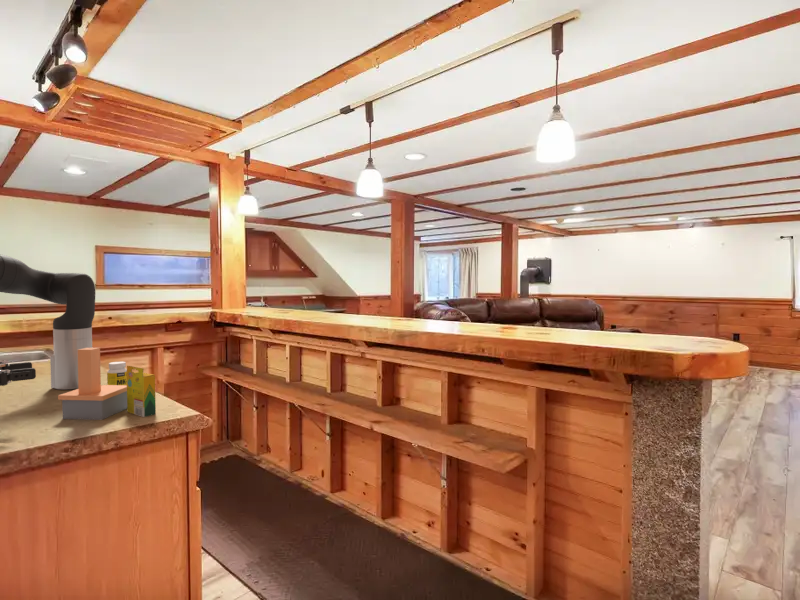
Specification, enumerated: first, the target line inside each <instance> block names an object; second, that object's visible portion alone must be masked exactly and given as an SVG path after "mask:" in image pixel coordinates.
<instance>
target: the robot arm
mask: <svg viewBox="0 0 800 600" xmlns="http://www.w3.org/2000/svg"><path fill="white" fill-rule="evenodd" d="M0 293H5V294H11V295H13V294H14V295H24V296H25V295H26V296H29V297H34V298H37V299H41V300H45V301H47V302H50V303H54V304H58V305H65V311H64V313H63V314H61V315H60V316H58V317H55V318H54V319H53V321H52V328H53V329H52V335H53V354H51V355H50V356H49V359H50V362H49V363H50V365H49V366H50V388H51V389H55V390H76V389H78V349H83V348H93V320H94V318H95V313H96V285H95V282H94V280H93V278H92V277H91V276H90V275H88V274H86V273H83V272H51V271H45V270H38V269H35V268H32V267H30V266H28V265H27V264H26V263H24V262H23V261H21V260H19V259H17V258H14V257H12V256H8V255H5V254H0ZM36 377H37V373H36V368H34V367H33V363H32V362H31V361H25V362H17V363H9V362H4V361H0V387H4V386H7V385H8V384H10V383H12V382H19V381H28V380H29V381H30V380H34V379H36Z"/></svg>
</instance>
